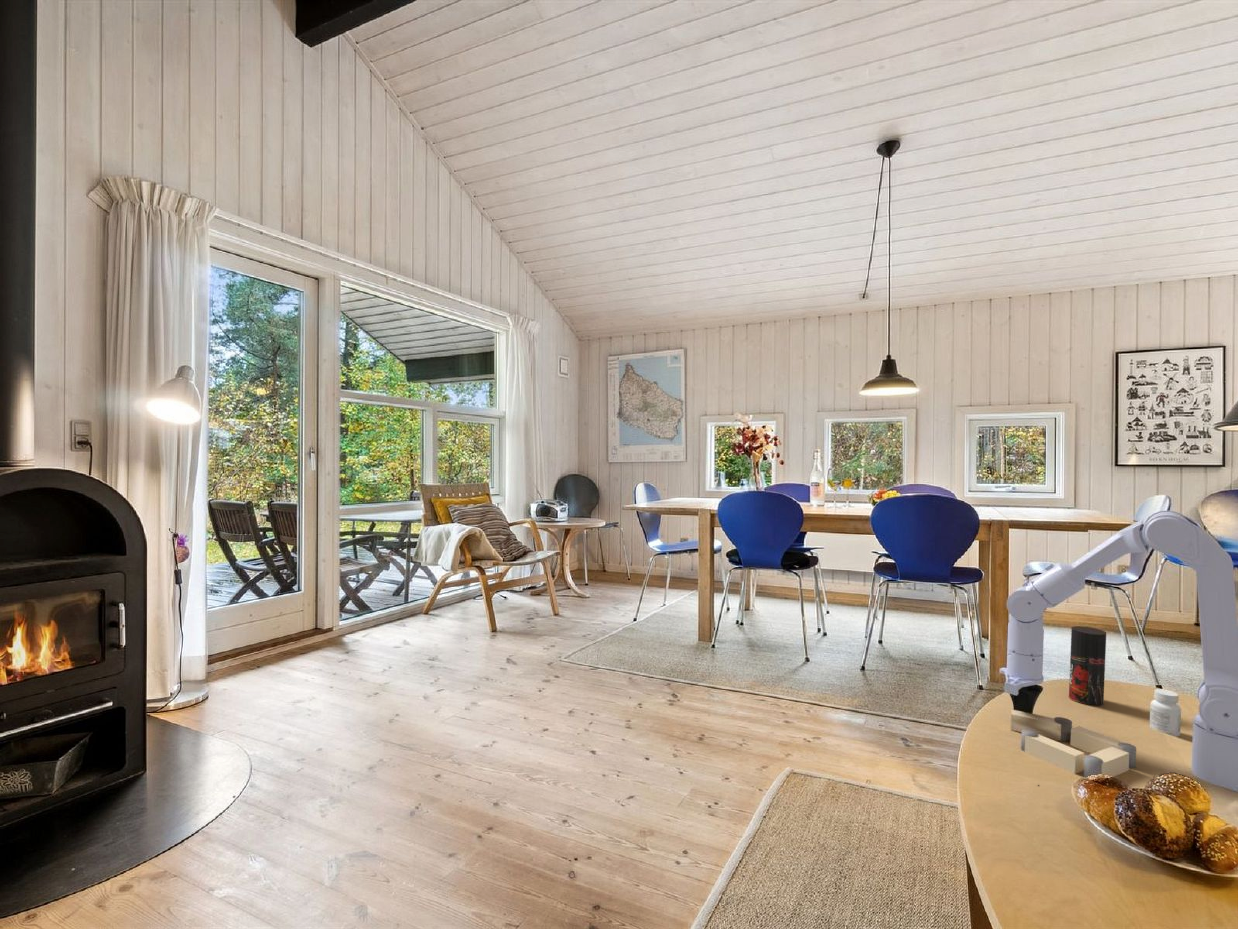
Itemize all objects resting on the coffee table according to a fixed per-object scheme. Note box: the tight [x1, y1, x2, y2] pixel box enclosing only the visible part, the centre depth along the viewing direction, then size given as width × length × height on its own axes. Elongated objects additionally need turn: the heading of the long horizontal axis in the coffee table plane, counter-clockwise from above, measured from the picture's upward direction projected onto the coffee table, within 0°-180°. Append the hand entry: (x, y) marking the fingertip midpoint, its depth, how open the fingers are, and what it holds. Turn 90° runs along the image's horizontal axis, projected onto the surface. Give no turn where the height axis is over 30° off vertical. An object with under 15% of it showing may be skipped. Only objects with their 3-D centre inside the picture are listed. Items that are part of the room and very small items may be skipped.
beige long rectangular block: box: [1010, 709, 1073, 743], centre depth 117 cm, size 9×3×3 cm, turn 57°
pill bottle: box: [1149, 688, 1182, 738], centre depth 119 cm, size 4×4×8 cm
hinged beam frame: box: [1020, 725, 1137, 778], centre depth 108 cm, size 13×13×4 cm
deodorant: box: [1068, 625, 1107, 707], centre depth 134 cm, size 6×6×15 cm
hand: (1022, 721), depth 120 cm, fingers closed, pressing on beige long rectangular block
